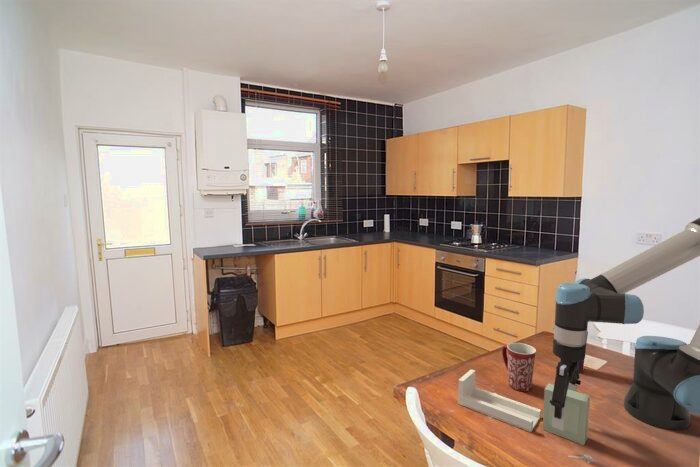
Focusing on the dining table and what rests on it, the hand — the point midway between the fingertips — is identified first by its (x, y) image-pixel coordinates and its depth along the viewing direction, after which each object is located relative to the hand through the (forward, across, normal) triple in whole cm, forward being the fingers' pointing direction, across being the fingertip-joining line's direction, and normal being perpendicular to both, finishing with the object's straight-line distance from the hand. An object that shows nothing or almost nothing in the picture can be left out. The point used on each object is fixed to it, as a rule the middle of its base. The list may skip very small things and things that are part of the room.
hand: (564, 416), depth 102 cm
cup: (+5, -43, -6) cm, 44 cm away
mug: (+5, -19, -19) cm, 27 cm away
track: (+5, +1, -17) cm, 17 cm away
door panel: (+5, 0, 0) cm, 5 cm away
